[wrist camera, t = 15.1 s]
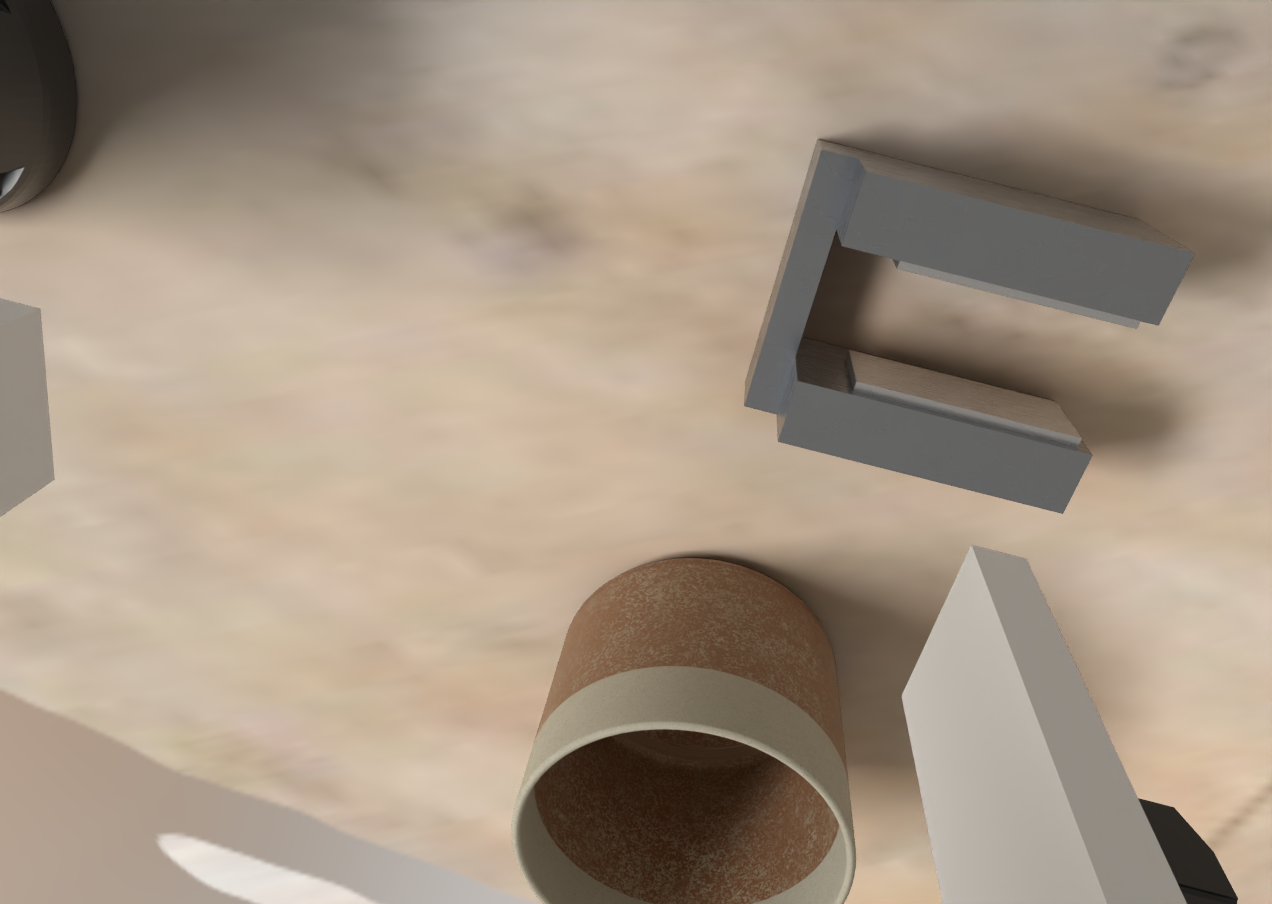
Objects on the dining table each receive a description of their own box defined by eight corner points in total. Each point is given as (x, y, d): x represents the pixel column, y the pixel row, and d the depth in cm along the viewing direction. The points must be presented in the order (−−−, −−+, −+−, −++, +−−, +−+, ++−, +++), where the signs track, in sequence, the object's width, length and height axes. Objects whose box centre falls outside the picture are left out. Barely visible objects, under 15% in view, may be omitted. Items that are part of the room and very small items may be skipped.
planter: (535, 569, 53) (467, 740, 41) (813, 532, 50) (830, 707, 38) (601, 775, 60) (559, 976, 48) (851, 754, 57) (876, 965, 44)
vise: (745, 382, 47) (742, 432, 41) (817, 139, 41) (826, 161, 36) (1028, 453, 47) (1062, 513, 41) (1138, 219, 41) (1195, 253, 36)
